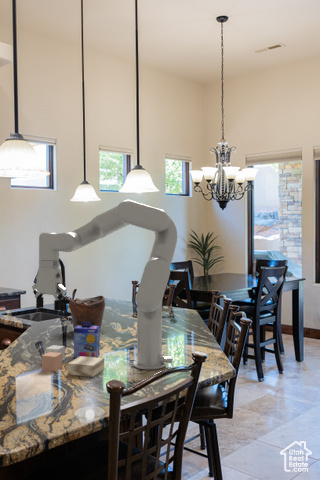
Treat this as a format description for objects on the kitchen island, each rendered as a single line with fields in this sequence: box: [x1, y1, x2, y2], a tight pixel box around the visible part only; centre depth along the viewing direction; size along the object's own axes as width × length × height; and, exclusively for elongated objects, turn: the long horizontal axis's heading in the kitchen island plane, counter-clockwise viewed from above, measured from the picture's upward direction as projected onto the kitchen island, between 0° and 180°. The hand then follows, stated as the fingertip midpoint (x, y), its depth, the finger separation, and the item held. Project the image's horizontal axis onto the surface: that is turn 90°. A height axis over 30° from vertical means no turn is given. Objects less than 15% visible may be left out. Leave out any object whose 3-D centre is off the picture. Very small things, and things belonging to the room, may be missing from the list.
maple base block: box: [67, 356, 105, 377], centre depth 177 cm, size 10×10×4 cm
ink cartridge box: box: [73, 322, 101, 358], centre depth 199 cm, size 10×6×14 cm, turn 85°
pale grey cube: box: [45, 344, 66, 362], centre depth 192 cm, size 6×6×6 cm
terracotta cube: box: [41, 352, 63, 372], centre depth 181 cm, size 6×6×6 cm
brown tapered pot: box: [68, 295, 106, 332], centre depth 246 cm, size 18×20×18 cm
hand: (48, 309), depth 185 cm, fingers open, 9 cm apart
